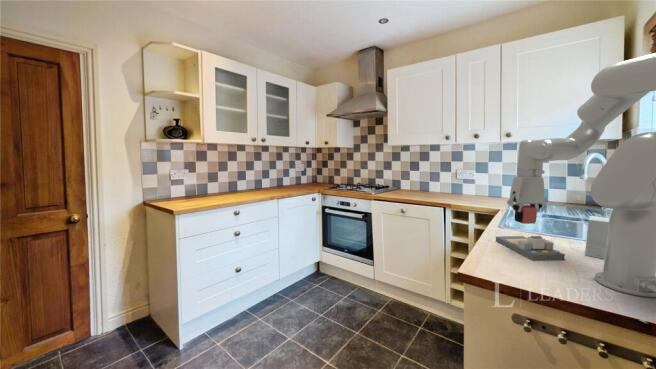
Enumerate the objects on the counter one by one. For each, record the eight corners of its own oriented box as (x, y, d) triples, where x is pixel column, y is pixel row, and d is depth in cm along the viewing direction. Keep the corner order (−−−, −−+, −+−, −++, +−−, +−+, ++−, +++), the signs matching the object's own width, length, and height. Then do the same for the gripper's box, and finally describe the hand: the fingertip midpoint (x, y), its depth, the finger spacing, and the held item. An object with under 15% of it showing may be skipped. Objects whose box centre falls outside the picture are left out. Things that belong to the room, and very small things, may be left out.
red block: (535, 223, 101) (536, 207, 101) (523, 223, 101) (524, 207, 101) (526, 220, 106) (527, 205, 105) (514, 220, 106) (516, 205, 105)
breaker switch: (544, 248, 97) (545, 237, 97) (533, 248, 97) (533, 238, 97) (537, 245, 100) (538, 235, 100) (526, 245, 100) (527, 235, 100)
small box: (610, 260, 92) (614, 222, 91) (584, 255, 97) (588, 219, 95) (610, 253, 98) (614, 218, 96) (586, 249, 102) (589, 215, 101)
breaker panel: (564, 259, 93) (565, 247, 93) (532, 260, 93) (533, 247, 92) (522, 240, 113) (522, 230, 112) (495, 241, 113) (496, 230, 112)
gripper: (543, 172, 105) (539, 218, 107) (500, 172, 105) (496, 219, 107) (560, 174, 97) (555, 223, 100) (513, 174, 97) (509, 224, 100)
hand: (525, 220), depth 104 cm, fingers closed on red block, 4 cm apart
